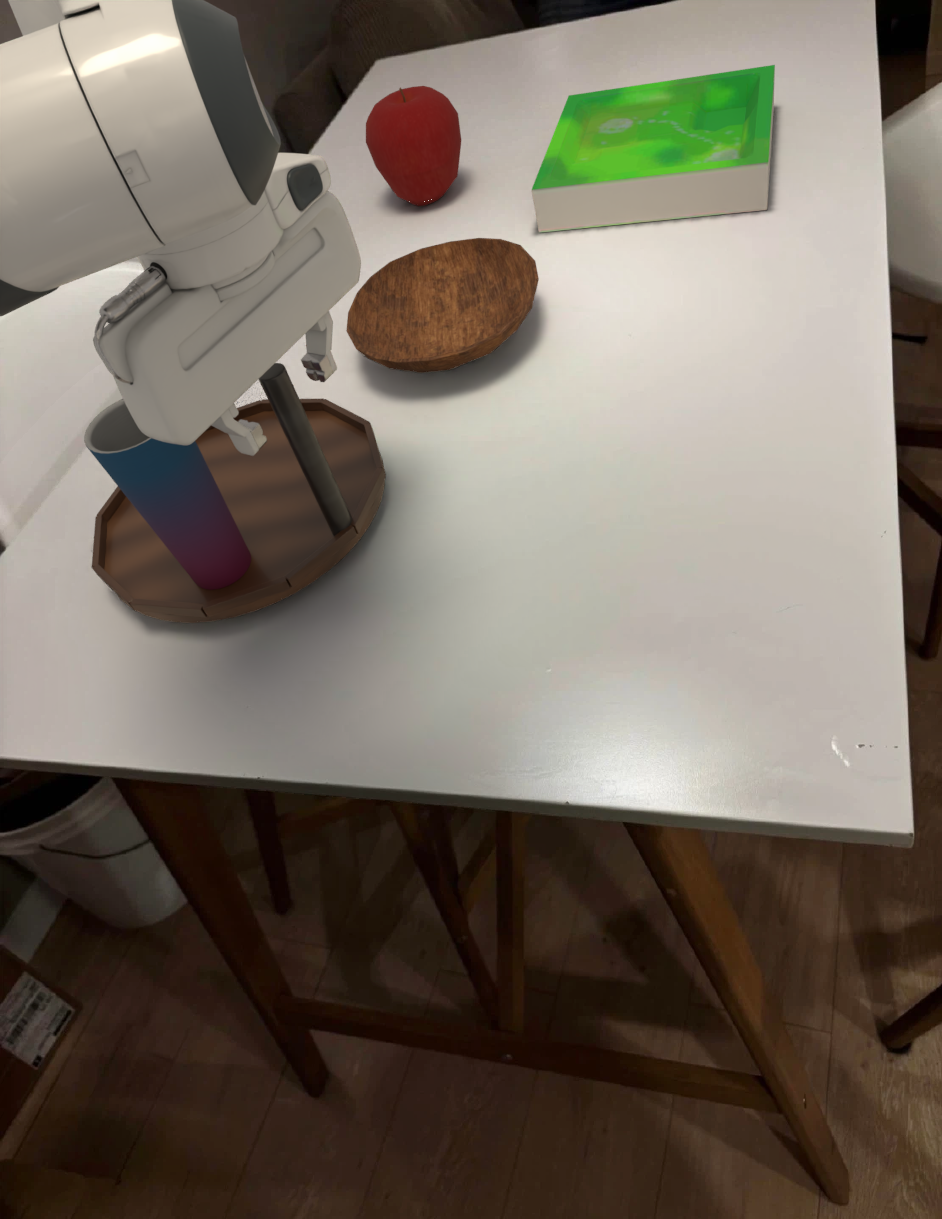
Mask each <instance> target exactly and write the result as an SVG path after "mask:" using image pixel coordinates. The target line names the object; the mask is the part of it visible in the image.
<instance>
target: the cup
mask: <svg viewBox="0 0 942 1219" xmlns="http://www.w3.org/2000/svg"><path fill="white" fill-rule="evenodd" d="M83 441H84V444H85V448H87V449H88V450H89V452H90V453H91V454H92V456H93V457H94V458H95V459H96V461H97V462H98V463H99V464H100V466H101V467H102V468H103V470H104V471H105V472H106V473H107V474H108V476H109V477H110V478H111V479H112V481H113V482H114V483H115V484H116V487H117V486H118V487H119V488H120V489H121V491H122V492H123V493H124V494H125V496H126V497H127V498H128V499H129V501H130V502H131V503H132V504H133V506H134V507H135V508H136V509H137V511H138V512H139V513H140V514H141V516H142V517H143V518H144V519H145V521H146V522H147V523H148V524H149V526H150V527H151V528H152V529H153V531H154V532H155V533H156V534H157V536H158V537H159V538H160V539H161V541H162V542H163V543H164V544H165V546H166V547H167V548H168V549H169V551H170V552H171V553H172V554H173V556H174V557H175V558H176V559H177V561H178V562H179V563H180V564H181V566H182V567H183V568H184V570H185V571H186V572H187V573H188V575H189V576H190V577H191V578H192V580H193V581H194V582H195V583H196V584H197V585H198V586H199V587H201V588H203V589H208V590H214V589H220V588H224V587H226V586H229V585H231V584H232V583H234V582H236V581H237V580H238V579H240V578H241V577H242V576H243V575H244V574H245V572H246V571H247V570H248V568H249V566H250V563H251V554H250V552H249V549H248V547H247V545H246V543H245V541H244V539H243V537H242V535H241V533H240V531H239V529H238V527H237V525H236V523H235V521H234V519H233V517H232V515H231V513H230V511H229V509H228V507H227V504H226V502H225V500H224V498H223V496H222V494H221V492H220V490H219V488H218V486H217V484H216V482H215V480H214V478H213V476H212V474H211V472H210V470H209V468H208V466H207V464H206V462H205V459H204V457H203V455H202V453H201V451H200V449H199V447H198V445H197V443H196V441H194V442H193V443H192V444H190V445H177V444H171V443H166V442H162V441H159V440H155V439H153V438H150V437H148V436H146V435H145V434H143V433H142V432H141V431H140V429H139V428H138V426H137V425H136V423H135V421H134V419H133V418H132V416H131V414H130V412H129V410H128V408H127V406H126V404H125V402H124V400H123V398H121V399H119V400H116V401H115V402H113V403H112V404H110V405H108V406H107V407H105V408H104V409H103V410H101V411H100V412H99V413H98V414H97V415H96V416H95V417H94V418H93V419H92V420H91V422H89V424H88V426H87V427H86V430H85V432H84V436H83Z"/></svg>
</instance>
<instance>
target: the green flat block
mask: <svg viewBox="0 0 942 1219" xmlns="http://www.w3.org/2000/svg"><path fill="white" fill-rule="evenodd" d="M775 72H776V64H771V65H763V66H757V67H750V68H744V69H737V70H730V71H724V72H718V73H710V74H704V75H696V76H690V77H683V78H677V79H670V80H669V79H668V80H664V81H657V82H650V83H643V84H636V85H630V86H624V87H617V88H610V89H609V88H608V89H603V90H595V91H589V92H584V93H583V92H582V93H577V94H570V95H568V96H567V100H566V102H565V104H564V107H563V109H562V111H561V114H560V117H559V119H558V121H557V124H556V127H555V129H554V132H553V134H552V137H551V139H550V142H549V144H548V147H547V149H546V152H545V154H544V157H543V159H542V162H541V164H540V167H539V170H538V172H537V175H536V177H535V180H534V182H533V185H532V188H531V195H532V200H533V206H534V213H535V218H536V224H537V229H538V233H540V234H541V233H548V232H550V233H551V232H560V231H568V230H569V231H570V230H578V229H580V230H581V229H590V228H598V227H609V226H610V227H611V226H620V225H628V224H638V223H648V222H659V221H668V220H669V221H670V220H680V219H689V218H699V217H708V216H720V215H729V214H738V213H739V214H740V213H749V212H758V211H767V210H768V202H769V187H770V174H771V159H772V158H771V157H772V143H773V124H774V109H775V79H776V78H775V74H776V73H775Z"/></svg>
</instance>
